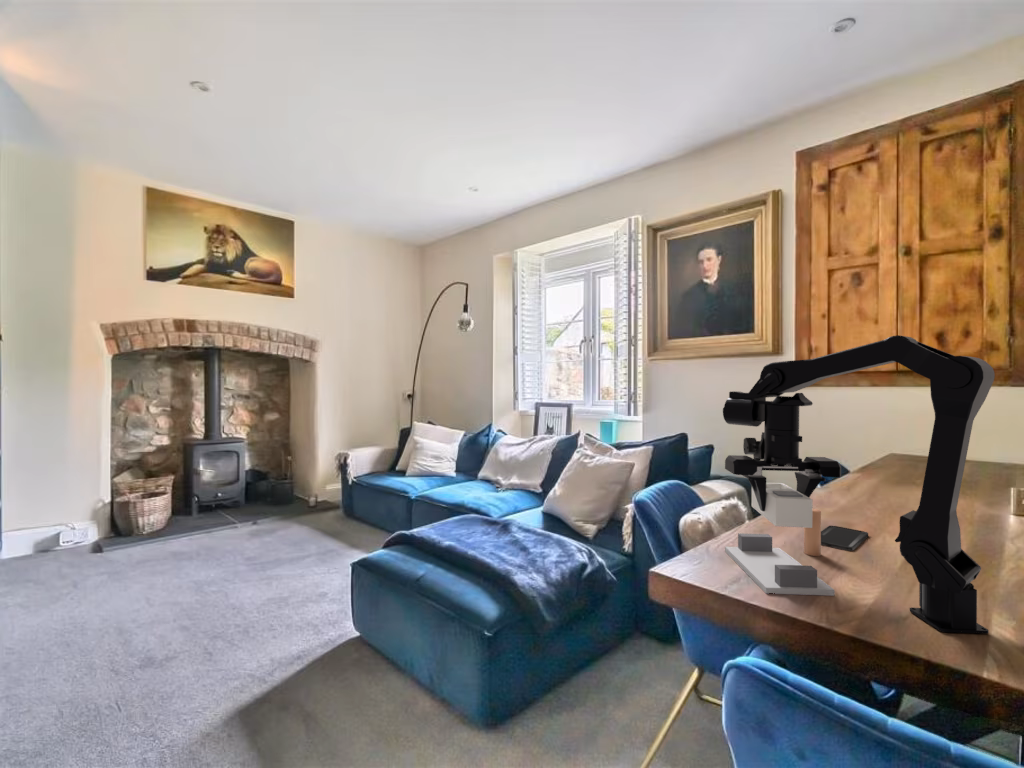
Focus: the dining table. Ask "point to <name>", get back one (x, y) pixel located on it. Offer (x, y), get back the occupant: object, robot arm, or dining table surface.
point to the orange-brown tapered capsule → (813, 535)
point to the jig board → (767, 571)
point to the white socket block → (785, 506)
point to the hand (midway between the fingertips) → (780, 511)
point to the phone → (842, 537)
